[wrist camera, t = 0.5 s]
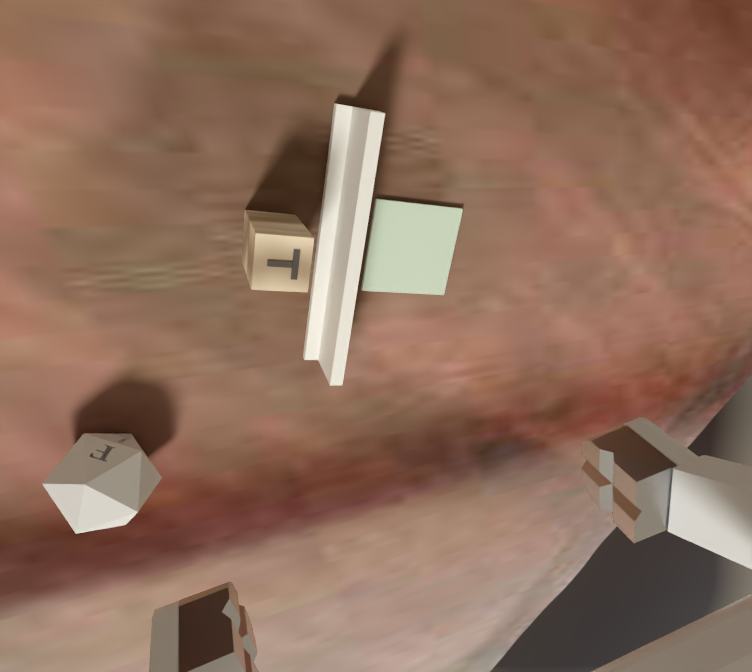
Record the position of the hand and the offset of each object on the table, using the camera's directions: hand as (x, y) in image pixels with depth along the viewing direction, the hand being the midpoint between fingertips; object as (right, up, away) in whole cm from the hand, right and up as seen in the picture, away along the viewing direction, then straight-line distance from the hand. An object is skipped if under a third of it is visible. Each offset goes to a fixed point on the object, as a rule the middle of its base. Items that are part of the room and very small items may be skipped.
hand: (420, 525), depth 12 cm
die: (-27, -7, +43) cm, 51 cm away
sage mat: (+2, +13, +43) cm, 45 cm away
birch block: (-11, +13, +38) cm, 42 cm away
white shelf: (-5, +13, +40) cm, 43 cm away
